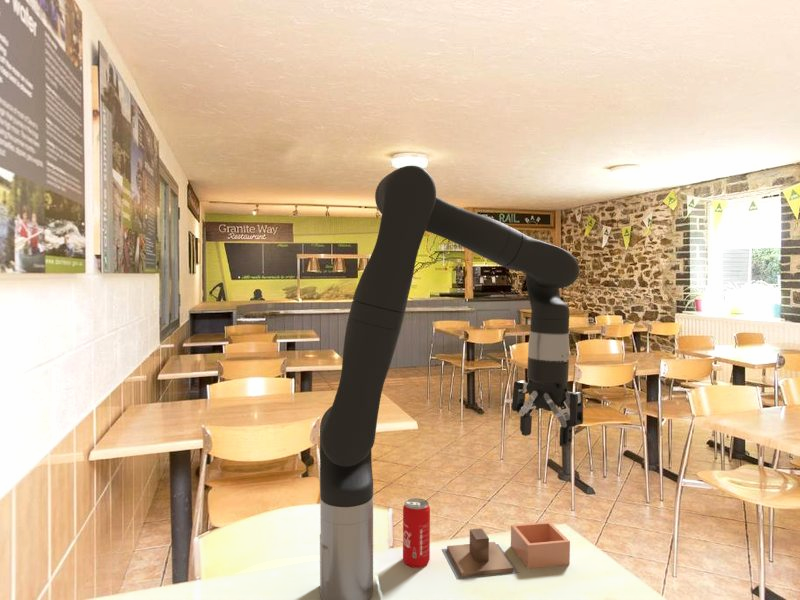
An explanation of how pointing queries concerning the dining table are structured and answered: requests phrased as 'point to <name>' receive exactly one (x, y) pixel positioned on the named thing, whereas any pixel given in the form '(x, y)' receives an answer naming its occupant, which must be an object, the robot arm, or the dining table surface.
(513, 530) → the open salmon box
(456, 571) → the mat
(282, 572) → the dining table surface
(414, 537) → the beverage can
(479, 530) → the lid
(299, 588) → the dining table surface
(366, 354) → the robot arm
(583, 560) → the dining table surface
